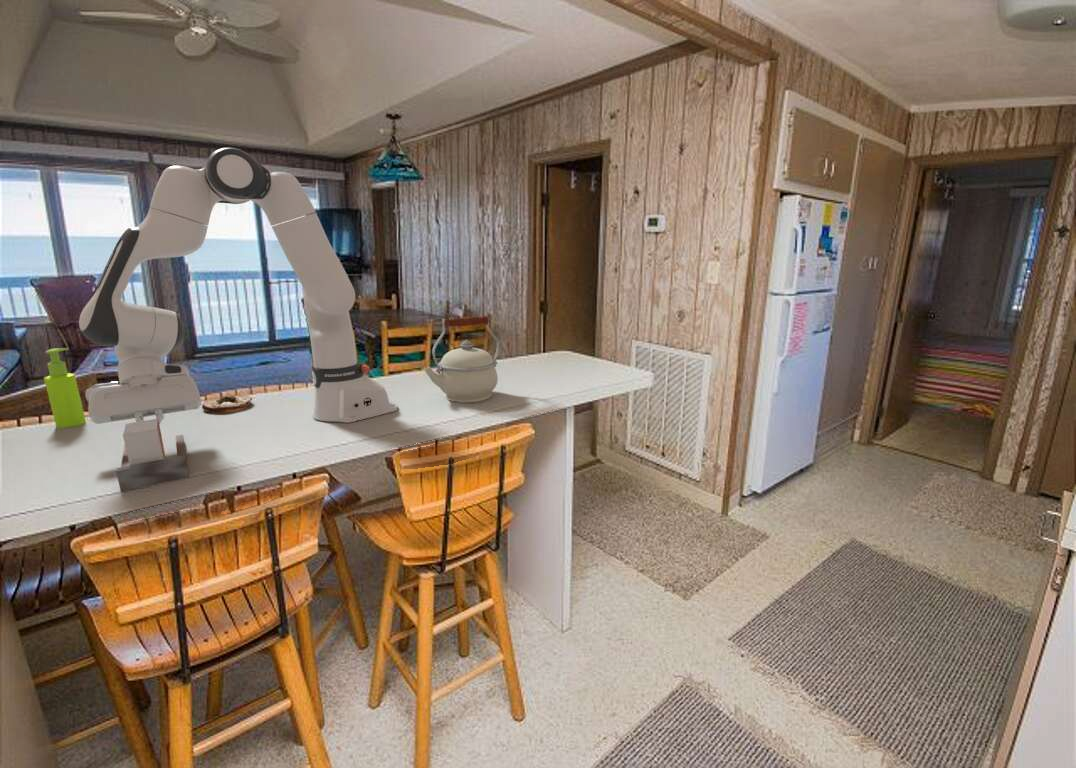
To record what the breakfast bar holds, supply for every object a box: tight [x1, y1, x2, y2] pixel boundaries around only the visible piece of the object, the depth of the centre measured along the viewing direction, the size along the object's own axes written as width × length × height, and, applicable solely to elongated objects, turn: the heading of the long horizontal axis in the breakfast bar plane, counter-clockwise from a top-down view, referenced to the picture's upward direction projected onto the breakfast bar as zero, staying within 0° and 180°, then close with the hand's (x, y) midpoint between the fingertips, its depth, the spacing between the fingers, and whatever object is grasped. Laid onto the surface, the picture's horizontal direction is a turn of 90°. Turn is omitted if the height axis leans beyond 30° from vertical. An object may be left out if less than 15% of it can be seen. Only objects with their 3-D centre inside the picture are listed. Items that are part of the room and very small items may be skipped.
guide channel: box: [115, 434, 190, 492], centre depth 111 cm, size 11×23×4 cm, turn 35°
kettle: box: [422, 315, 500, 404], centre depth 157 cm, size 25×18×25 cm
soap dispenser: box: [43, 347, 87, 429], centre depth 133 cm, size 6×7×20 cm
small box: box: [122, 418, 167, 465], centre depth 105 cm, size 8×6×10 cm
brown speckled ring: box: [201, 394, 254, 416], centre depth 150 cm, size 15×15×4 cm
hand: (151, 430), depth 114 cm, fingers closed
